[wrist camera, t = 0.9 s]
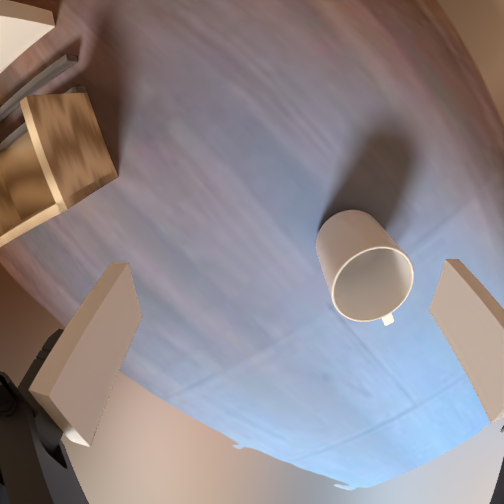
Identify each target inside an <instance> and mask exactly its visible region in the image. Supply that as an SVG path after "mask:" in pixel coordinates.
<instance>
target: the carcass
mask: <svg viewBox="0 0 504 504" xmlns="http://www.w3.org/2000/svg"><path fill="white" fill-rule="evenodd" d="M77 62H78V61H77V57H76V56H74V55H68V54H65V55H64V56H62V57H61V58H60V59H58V60H57V61H55V62H54V63H53V64H51V65H50V66H49V67H47V68H46V69H45V70H43V71H42V72H41V73H40V74H38V75H37V76H36V77H34V78H33V79H32V80H31V81H30V82H28V83H27V84H26V85H25V86H24V87H22V88H21V89H20V90H19V91H18V92H17V93H16V94H14V95H13V96H12V97H11V98H10V99H9V100H8V101H7V102H6V103H5V104H3V105H2V106H1V107H0V123H1V122H2V121H3V120H4V119H5V118H6V117H7V116H8V115H9V114H10V113H11V112H13V111H14V110H15V109H16V108H17V107H18V106H19V105H21V108H22V111H23V115H24V118H25V121H26V122H25V123H23V124H22V125H21V126H20V127H18V128H17V129H16V130H15V131H14V132H13V133H11V134H10V135H9V136H8V137H7V138H6V139H5V140H3V141H2V142H1V143H0V247H1V246H3V245H4V244H6V243H8V242H9V241H11V240H13V239H14V238H16V237H18V236H19V235H21V234H23V233H25V232H26V231H28V230H30V229H32V228H34V227H35V226H37V225H39V224H41V223H43V222H45V221H46V220H48V219H50V218H52V217H54V216H56V215H58V214H60V213H62V212H64V211H66V210H67V209H69V208H70V207H72V206H73V205H75V204H76V203H78V202H79V201H81V200H82V199H84V198H85V197H87V196H89V195H90V194H92V193H93V192H95V191H96V190H98V189H100V188H101V187H103V186H104V185H106V184H108V183H109V182H111V181H113V180H114V179H116V178H118V175H117V172H116V170H115V167H114V165H113V162H112V160H111V157H110V155H109V152H108V150H107V147H106V144H105V142H104V139H103V136H102V134H101V131H100V128H99V125H98V123H97V120H96V117H95V114H94V111H93V108H92V105H91V102H90V99H89V96H88V93H87V90H86V87H85V86H74V87H73V88H71V89H70V90H68V91H67V92H65V93H64V94H47V95H34V96H32V95H33V94H34V93H35V92H37V91H38V90H39V89H40V88H42V87H43V86H44V85H46V84H47V83H48V82H50V81H51V80H52V79H54V78H55V77H57V76H58V75H59V74H61V73H62V72H64V71H65V70H67V69H68V68H70V67H71V66H73V65H74V64H76V63H77Z"/></svg>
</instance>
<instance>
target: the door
mask: <svg viewBox="0 0 504 504" xmlns="http://www.w3.org/2000/svg"><path fill="white" fill-rule="evenodd" d="M54 27H55V23H54V18H53V13H52V11H49V10H46V9H42V8H38V7H35V6H31V5H27V4H23V3H18V2H14V1H9V0H0V73H1V72H2V71H3V70H4V69H5V68H6V67H7V66H8V65H10V64H11V63H12V62H13V61H14V60H15V59H16V58H17V57H18V56H19V55H21V54H22V53H23V52H24V51H25V50H26V49H28V48H29V47H30V46H31V45H32V44H34V43H35V42H36V41H37V40H38V39H40V38H41V37H42V36H44V35H45V34H46V33H47V32H49V31H50V30H51V29H53V28H54Z"/></svg>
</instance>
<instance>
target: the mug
mask: <svg viewBox="0 0 504 504" xmlns="http://www.w3.org/2000/svg"><path fill="white" fill-rule="evenodd" d="M316 254H317V257H318V260H319V263H320V265H321V268H322V271H323V274H324V277H325V280H326V283H327V286H328V289H329V292H330V295H331V298H332V301H333V304H334V306H335V308H336V309H337V310H338V311H339V313H341V314H342V315H343V316H344V317H346V318H348V319H351V320H354V321H361V322H366V321H373V320H377V319H380V318H382V320H383V322H384V324H385V326H387V325H388V324H390V323H392V322H394V319H393V316H392V312H393V311H395V310H396V309H397V308H398V307H399V306H400V305H401V304H402V303H403V302H404V301H405V299H406V298H407V296H408V295H409V293H410V291H411V288H412V285H413V281H414V270H413V266H412V263H411V261H410V259H409V258H408V256H407V255H406V254H405V253H404V251H403V250H402V249H401V248H400V247H399V246H398V244H397V243H396V242H395V241H394V240H393V239H392V237H391V236H390V235H389V234H388V233H387V232H386V231H385V230H384V228H383V227H382V226H381V225H380V224H379V223H378V222H377V221H376V220H375V219H374V218H373V217H372V216H371V215H369V214H368V213H365V212H363V211H359V210H346V211H342V212H339V213H337V214H335V215H333V216H332V217H330V218H329V219H328V220H327V221H326V222H325V223H324V224H323V225H322V227H321V228H320V230H319V232H318V235H317V238H316Z"/></svg>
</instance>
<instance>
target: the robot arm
mask: <svg viewBox="0 0 504 504" xmlns="http://www.w3.org/2000/svg"><path fill="white" fill-rule="evenodd" d="M429 312H430V313H431V315H432V316H433V318H434V319H435V321H436V323H437V324H438V326H439V327H440V329H441V331H442V332H443V334H444V336H445V337H446V339H447V341H448V342H449V344H450V346H451V348H452V349H453V351H454V353H455V355H456V356H457V358H458V360H459V362H460V363H461V365H462V367H463V369H464V371H465V373H466V374H467V376H468V378H469V380H470V382H471V384H472V386H473V388H474V390H475V392H476V394H477V396H478V398H479V400H480V402H481V404H482V406H483V408H484V410H485V412H486V414H487V416H488V418H489V421H490V423H493V422H496V421H498V420H500V419H502V418H504V309H503V308H502V307H501V306H500V304H499V303H498V302H497V301H496V300H495V299H494V297H493V296H492V295H491V294H490V293H489V292H488V290H487V289H486V288H485V287H484V286H483V285H482V284H481V283H480V282H479V280H478V279H477V278H476V277H475V276H474V275H473V274H472V273H471V272H470V271H469V270H468V269H467V268H466V266H465V265H464V264H463V263H462V262H461V261H460V260H459V259H446V260H445V263H444V266H443V270H442V273H441V276H440V280H439V283H438V286H437V289H436V292H435V295H434V298H433V301H432V303H431V306H430V309H429ZM141 319H142V313H141V309H140V306H139V302H138V299H137V295H136V291H135V287H134V283H133V279H132V275H131V271H130V267H129V263H111V265H110V266H109V267H108V269H107V270H106V271H105V273H104V274H103V275H102V277H101V278H100V279H99V281H98V282H97V283H96V285H95V286H94V288H93V289H92V290H91V292H90V293H89V295H88V296H87V297H86V299H85V300H84V302H83V303H82V305H81V306H80V308H79V309H78V310H77V312H76V313H75V315H74V316H73V318H72V319H71V321H70V322H69V324H68V325H67V327H66V328H65V330H62V329H58V330H57V331H56V332H55V333H54V334H52V335H51V336H50V337H49V338H48V339H47V341H46V342H45V344H44V346H43V347H42V351H40V352H39V353H38V355H37V356H36V359H35V360H34V361H33V363H32V364H31V366H30V368H29V369H28V371H27V373H26V374H25V376H24V378H23V380H22V381H21V383H20V385H19V386H18V388H17V387H16V386H15V385H14V383H13V382H12V381H11V379H10V378H9V377H8V375H6V374H5V373H4V372H0V504H89V503H88V501H87V499H86V497H85V495H84V492H83V490H82V488H81V486H80V484H79V481H78V479H77V477H76V475H75V472H74V470H73V467H72V465H71V462H70V460H69V457H68V455H67V452H66V449H65V446H64V444H63V443H62V441H61V440H60V439H61V437H62V434H63V433H64V434H65V435H66V436H67V437H68V438H69V439H70V440H71V441H72V442H75V443H78V444H82V445H85V446H89V447H91V444H92V442H93V439H94V436H95V433H96V430H97V427H98V425H99V422H100V419H101V416H102V414H103V411H104V408H105V406H106V403H107V400H108V398H109V395H110V393H111V390H112V387H113V385H114V383H115V380H116V378H117V375H118V373H119V370H120V368H121V365H122V363H123V361H124V358H125V356H126V353H127V351H128V349H129V346H130V344H131V342H132V339H133V337H134V335H135V333H136V330H137V328H138V326H139V323H140V321H141ZM503 431H504V426H503V427H502V429H501V432H503ZM490 504H504V458H503V462H502V466H501V470H500V473H499V477H498V480H497V483H496V487H495V490H494V493H493V496H492V499H491V502H490Z"/></svg>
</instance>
